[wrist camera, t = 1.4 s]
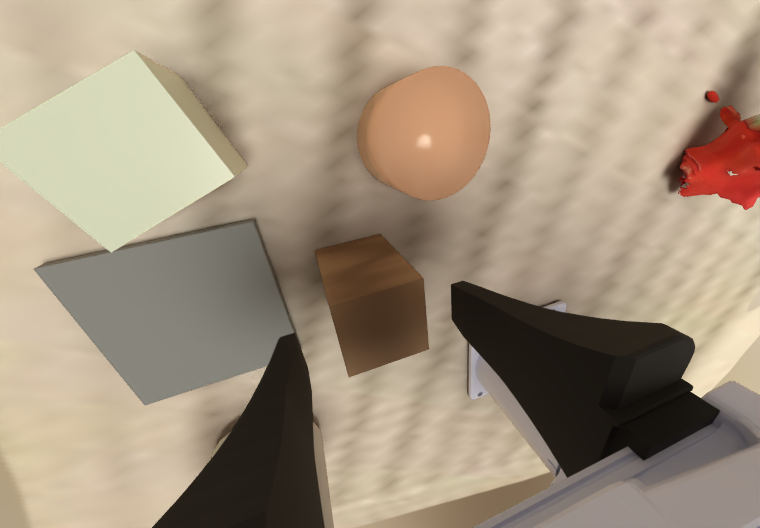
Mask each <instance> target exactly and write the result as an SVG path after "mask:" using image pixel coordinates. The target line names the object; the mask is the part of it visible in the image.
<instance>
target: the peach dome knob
mask: <svg viewBox="0 0 760 528" xmlns="http://www.w3.org/2000/svg"><path fill="white" fill-rule="evenodd" d="M489 139H490V115H489V110H488V106H487V103H486V100H485V97H484V95H483V93H482V91H481V90H480V88H479V87H478V85H477V84H476V83H475V82H474V81H473V80H472V79H471V78H470V77H469V76H468V75H466V74H465V73H463V72H462V71H460V70H458V69H455V68H452V67H446V66H434V67H430V68H426V69H423V70H421V71H419V72H416V73H414V74H412V75H410V76H408V77H406V78H404V79H402V80H400V81H398V82H395V83H393V84H391V85H389V86H387V87H385V88H383V89H382V90H380V91H379V92H377V93H376V94H375V95H374V96H373V97H372V98H371V99H370V100H369V102H368V103H367V105H366V106H365V108H364V110H363V112H362V114H361V117H360V120H359V124H358V131H357V143H358V149H359V153H360V156H361V159H362V161H363V163H364V165H365V167H366V168H367V170H368V171H369V172H370V173H371V174H372V175H373V176H374V177H375V178H376V179H378V180H379V181H381V182H383V183H385V184H387V185H389V186H391V187H393V188H396V189H398V190H400V191H402V192H404V193H406V194H408V195H410V196H412V197H415V198H418V199H422V200H438V199H443V198H446V197H448V196H451V195H453V194H455V193H456V192H458V191H459V190H461V189H462V188H463V187H464V186H466V185H467V184H468V183H469V182H470V180H471V179H472V178H473V177H474V176H475V174H476V173H477V171H478V170H479V168H480V166H481V164H482V162H483V160H484V157H485V155H486V152H487V148H488V144H489Z"/></svg>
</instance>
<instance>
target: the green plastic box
mask: <svg viewBox="0 0 760 528" xmlns="http://www.w3.org/2000/svg"><path fill="white" fill-rule="evenodd" d="M0 163H1V164H3V165H4V166H5V167H6V168H8V169H9V170H10V171H11V172H13V173H14V174H15V175H16V176H17V177H19V178H20V179H21V180H22V181H24V182H25V183H26V184H27V185H29V186H30V187H31V188H32V189H33V190H35V191H36V192H37V193H38V194H40V195H41V196H42V197H43V198H45V199H46V200H47V201H48V202H49V203H51V204H52V205H53V206H54V207H56V208H57V209H58V210H59V211H60V212H62V213H63V214H64V215H65V216H67V217H68V218H69V219H70V220H72V221H73V222H74V223H75V224H76V225H78V226H79V227H80V228H81V229H83V230H84V231H85V232H86V233H88V234H89V235H90V236H91V237H92V238H94V239H95V240H96V241H97V242H99V243H100V244H101V245H102V246H104V247H105V248H106V249H107V250H108V251H110V252H113V251H115V250H116V249H118V248H120V247H121V246H123V245H125V244H126V243H128V242H129V241H131V240H133V239H134V238H136V237H138V236H139V235H141V234H142V233H144V232H146V231H147V230H149V229H151V228H152V227H154V226H156V225H157V224H159V223H160V222H162V221H164V220H165V219H167V218H169V217H170V216H172V215H173V214H175V213H177V212H178V211H180V210H182V209H183V208H185V207H187V206H188V205H190V204H191V203H193V202H195V201H196V200H198V199H200V198H201V197H203V196H204V195H206V194H208V193H209V192H211V191H213V190H214V189H216V188H218V187H219V186H221V185H222V184H224V183H226V182H227V181H229V180H231V179H232V178H234V177H235V176H237V175H238V174H239V173H240V172H241V171H243V170H244V169H245V168H246V167H248V166H247V165H246V163H245V162H244V161H243V159H242V158H241V157H240V155H239V154H238V153H237V151H236V150H235V149H234V147H233V146H232V145H231V143H230V142H229V141H228V139H227V138H226V137H225V135H224V134H223V133H222V131H221V130H220V129H219V127H218V126H217V125H216V123H215V122H214V121H213V119H212V118H211V117H210V115H209V114H208V113H207V112H206V110H205V109H204V108H203V106H202V105H201V104H200V102H199V101H198V100H197V98H196V97H195V96H194V94H193V93H192V92H191V90H190V89H189V88H188V86H187V85H186V84H185V82H184V81H183V80H182V78H181V77H180V76H179V75H177V74H175V73H174V72H172V71H170V70H168V69H167V68H165V67H163V66H161V65H160V64H158V63H156V62H154V61H152V60H151V59H149V58H147V57H145V56H144V55H142V54H140V53H138V52H137V51H135V50H133V51H132V52H130V53H128V54H126V55H125V56H123V57H121V58H120V59H118V60H116V61H114V62H113V63H111V64H109V65H108V66H106V67H104V68H102V69H101V70H99V71H97V72H96V73H94V74H92V75H90V76H89V77H87V78H85V79H84V80H82V81H80V82H78V83H77V84H75V85H73V86H72V87H70V88H68V89H66V90H65V91H63V92H61V93H60V94H58V95H56V96H54V97H53V98H51V99H49V100H48V101H46V102H44V103H42V104H41V105H39V106H37V107H36V108H34V109H32V110H30V111H29V112H27V113H25V114H24V115H22V116H20V117H18V118H17V119H15V120H13V121H12V122H10V123H8V124H6V125H5V126H3V127H1V128H0Z"/></svg>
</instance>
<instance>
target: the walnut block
mask: <svg viewBox="0 0 760 528" xmlns="http://www.w3.org/2000/svg"><path fill="white" fill-rule="evenodd" d="M315 254H316V258H317V262H318V265H319V269H320V273H321V277H322V281H323V285H324V289H325V292H326V296H327V300H328V304H329V308H330V311H331V315H332V319H333V322H334V326H335V329H336V333H337V337H338V340H339V344H340V348H341V351H342V355H343V358H344V362H345V366H346V369H347V373H348V377H351V376H354V375H357V374H360V373H363V372H366V371H368V370H371V369H374V368H377V367H380V366H383V365H385V364H388V363H391V362H394V361H397V360H400V359H402V358H405V357H408V356H411V355H414V354H417V353H420V352H422V351H425V350H428V349H429V343H428V330H427V318H426V305H425V292H424V279H423V277H422V276H421V275H420V274H419V273H418V272H417V271H416V270H415V269H414V268H413V267H412V266H411V265H410V264H409V263H408V262H407V261H406V260H405V259H404V258H403V257H402V256H401V255H400V254H399V253H398V252H397V251H396V249H395V248H394V247H393V246H392V245H391V244H390V243H389V242H388V241H387V240H386V239H385V238H384V237H383V236H382V235H381V234H378V235H374V236H370V237H366V238H362V239H357V240H353V241H349V242H345V243H341V244H337V245H333V246H329V247H325V248H321V249H317V250H315Z"/></svg>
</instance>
